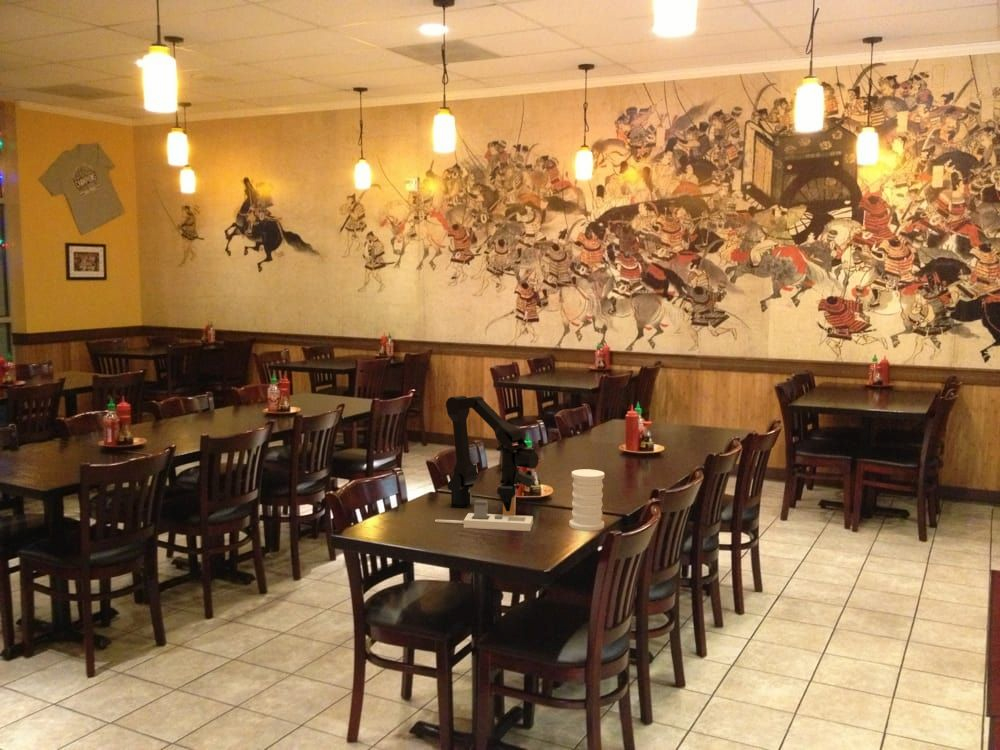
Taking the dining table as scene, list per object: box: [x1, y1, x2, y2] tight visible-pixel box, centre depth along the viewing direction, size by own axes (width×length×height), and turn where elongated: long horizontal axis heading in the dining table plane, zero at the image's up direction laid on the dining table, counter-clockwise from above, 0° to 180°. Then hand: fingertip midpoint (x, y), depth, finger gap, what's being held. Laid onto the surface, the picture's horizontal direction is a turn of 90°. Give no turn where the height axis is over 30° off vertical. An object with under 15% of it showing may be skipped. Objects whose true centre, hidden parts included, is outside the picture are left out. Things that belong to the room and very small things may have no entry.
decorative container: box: [568, 468, 605, 532], centre depth 293 cm, size 12×12×18 cm
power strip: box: [434, 512, 534, 532], centre depth 293 cm, size 32×9×3 cm, turn 82°
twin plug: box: [473, 499, 489, 520], centre depth 293 cm, size 4×3×8 cm
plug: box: [502, 494, 517, 515], centre depth 304 cm, size 4×3×8 cm
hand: (509, 509), depth 304 cm, fingers open, 5 cm apart
